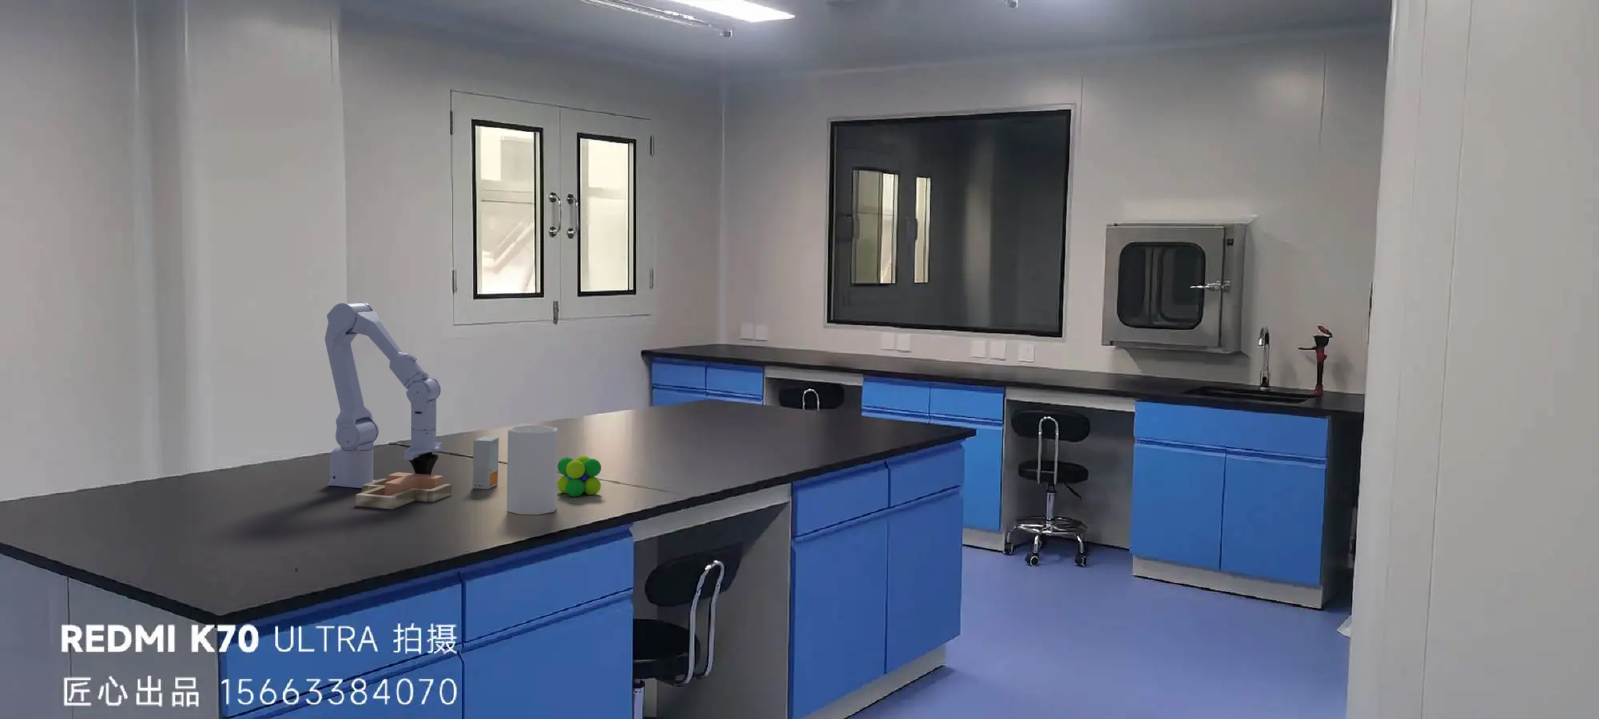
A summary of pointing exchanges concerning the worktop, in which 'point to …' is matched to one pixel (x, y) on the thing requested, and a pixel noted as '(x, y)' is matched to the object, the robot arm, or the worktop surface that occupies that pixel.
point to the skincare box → (485, 462)
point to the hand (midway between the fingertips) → (423, 484)
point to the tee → (410, 482)
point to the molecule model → (579, 476)
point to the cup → (532, 469)
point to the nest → (398, 495)
